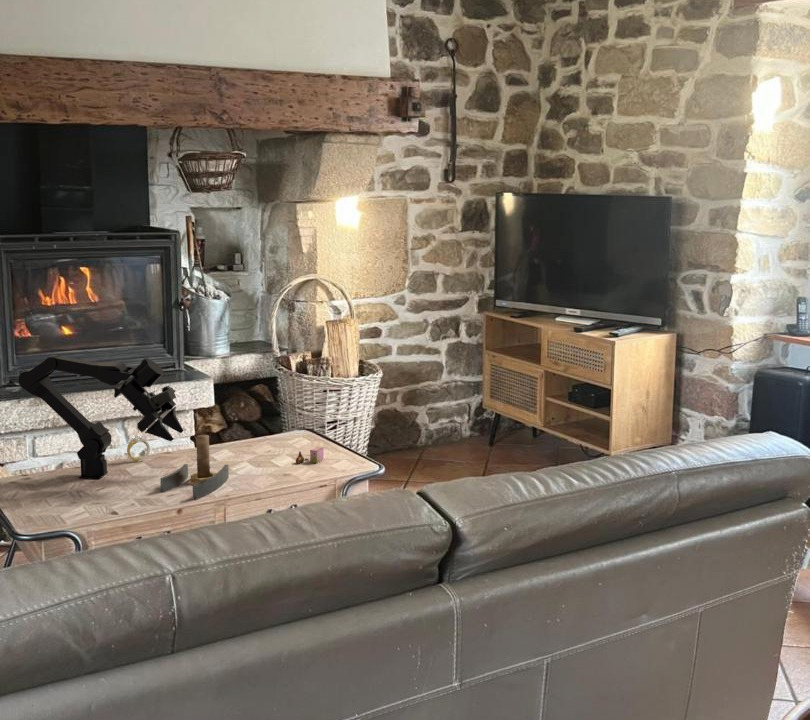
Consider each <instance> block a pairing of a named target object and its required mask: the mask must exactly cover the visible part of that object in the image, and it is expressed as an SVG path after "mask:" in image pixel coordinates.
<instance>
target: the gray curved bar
mask: <svg viewBox="0 0 810 720" xmlns="http://www.w3.org/2000/svg"><path fill="white" fill-rule="evenodd" d="M215 473H216V474H215V475H213V476H212V477H210V478H208V479H206V480H204V481H202V482H200V483H198V484H192V500H193V501H197V500H199V499H202V498H204V497H206V496H207V495H209V494H212V493H213V492H215V491H216V490H218V489H219V488H221V487H222V486H223V485H224V484H225V483H226V482H227V481H228V480H229V478H230V476H229V474H230V473H229V464H224V465H223V467H222V468H221V469H219V470H218V472H215ZM188 478H189V464H188V463H185V464H183V465H182V466H181V467H180V468H178V469H177V470H175V471H174V472H171V473H170V474H168V475H167V474H166V476H162V477H160V479H159V482H160V492H161V493H165V492H168V491H170V490H173V489H174V487H175V488H176V487H178V486H180V485H181V484H182V483H184V482H185V481H186V480H187V479H188ZM172 488H173V489H172Z"/></svg>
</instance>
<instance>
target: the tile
mask: <svg viewBox="0 0 810 720" xmlns="http://www.w3.org/2000/svg"><path fill="white" fill-rule="evenodd" d="M195 484H198V483H195V482H192V481H191V479H190V480H188V482H187V485H195Z"/></svg>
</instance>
